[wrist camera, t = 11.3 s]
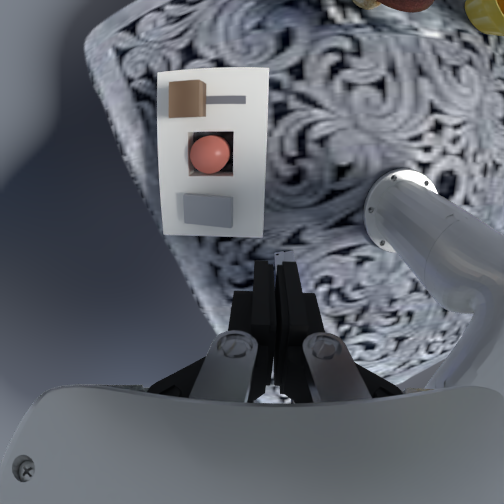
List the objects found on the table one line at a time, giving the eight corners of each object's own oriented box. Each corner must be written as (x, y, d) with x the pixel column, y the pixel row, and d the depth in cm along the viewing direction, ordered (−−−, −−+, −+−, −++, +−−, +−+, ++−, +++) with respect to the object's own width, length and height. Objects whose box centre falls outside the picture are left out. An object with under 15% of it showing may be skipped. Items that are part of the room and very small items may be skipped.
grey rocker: (233, 196, 33) (230, 198, 32) (233, 225, 34) (230, 228, 34) (185, 193, 34) (182, 195, 33) (187, 221, 36) (184, 223, 35)
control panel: (268, 71, 30) (269, 66, 27) (262, 229, 40) (262, 240, 36) (165, 75, 31) (155, 71, 27) (169, 226, 40) (161, 237, 36)
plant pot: (502, 52, 24) (540, 51, 15) (461, 32, 24) (500, 23, 15) (493, 4, 19) (527, -4, 10) (450, -19, 19) (484, -34, 11)
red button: (231, 134, 33) (228, 136, 31) (230, 169, 35) (228, 173, 33) (195, 135, 33) (189, 136, 31) (195, 169, 35) (190, 173, 33)
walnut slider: (206, 83, 28) (199, 79, 25) (205, 116, 30) (198, 116, 27) (179, 85, 29) (168, 81, 25) (178, 117, 30) (168, 118, 27)
